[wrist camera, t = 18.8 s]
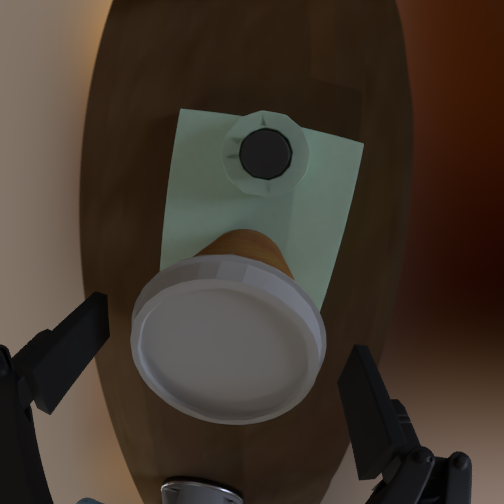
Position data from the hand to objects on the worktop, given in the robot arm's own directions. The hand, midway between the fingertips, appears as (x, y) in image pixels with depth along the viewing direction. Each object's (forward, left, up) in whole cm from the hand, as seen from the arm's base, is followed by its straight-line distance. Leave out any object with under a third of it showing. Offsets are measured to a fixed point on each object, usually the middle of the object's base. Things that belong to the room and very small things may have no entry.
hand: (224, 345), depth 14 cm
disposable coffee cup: (0, 0, -10) cm, 10 cm away
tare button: (+9, 0, -8) cm, 13 cm away
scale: (+3, 0, -11) cm, 11 cm away
